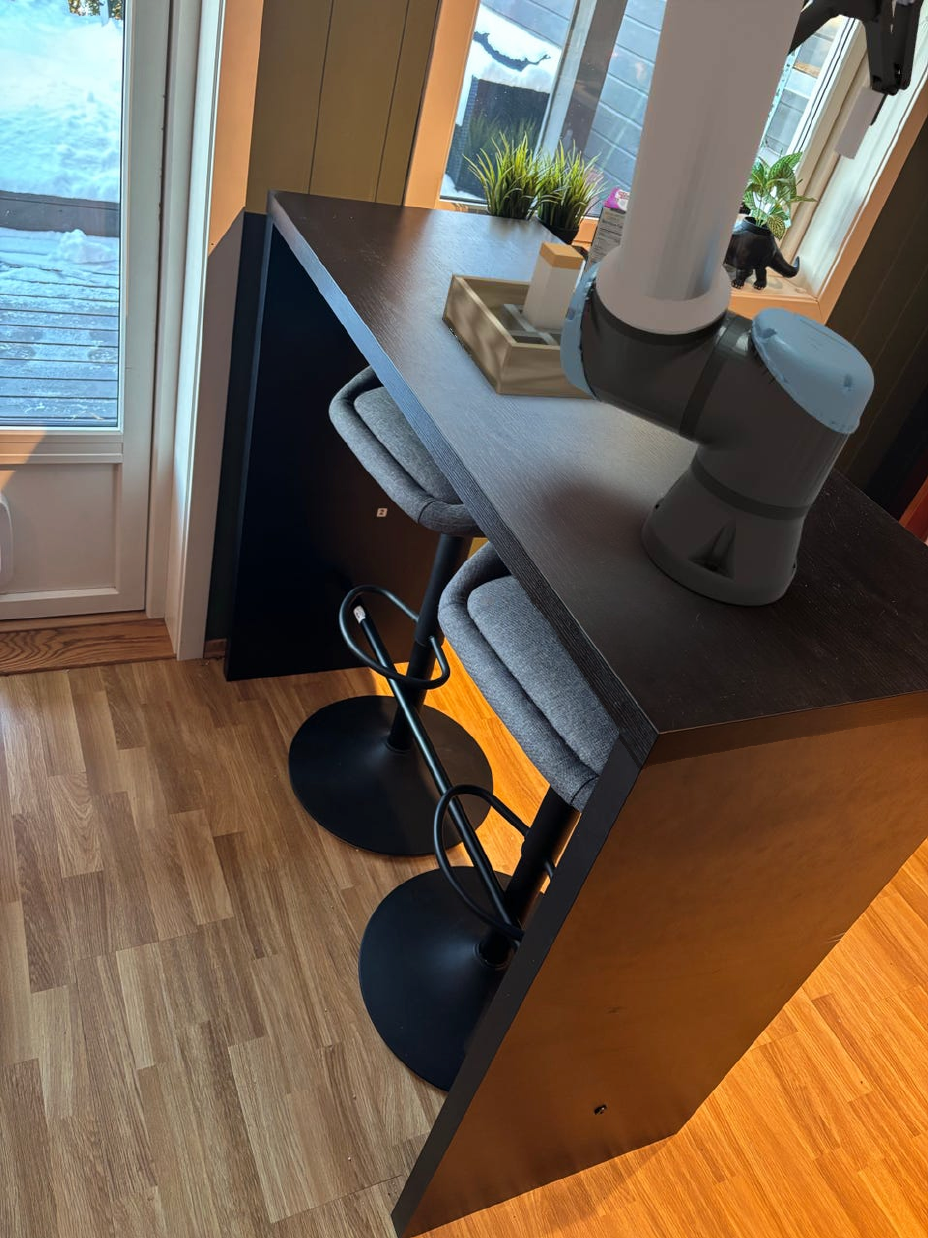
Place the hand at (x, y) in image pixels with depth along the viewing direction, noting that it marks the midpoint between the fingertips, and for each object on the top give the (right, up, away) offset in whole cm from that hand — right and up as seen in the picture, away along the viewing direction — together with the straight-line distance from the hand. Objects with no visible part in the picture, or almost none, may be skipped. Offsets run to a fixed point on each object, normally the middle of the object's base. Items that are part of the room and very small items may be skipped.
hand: (796, 145), depth 101 cm
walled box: (-27, -17, +21) cm, 38 cm away
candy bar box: (-17, -6, +38) cm, 42 cm away
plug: (-26, -14, +23) cm, 37 cm away
